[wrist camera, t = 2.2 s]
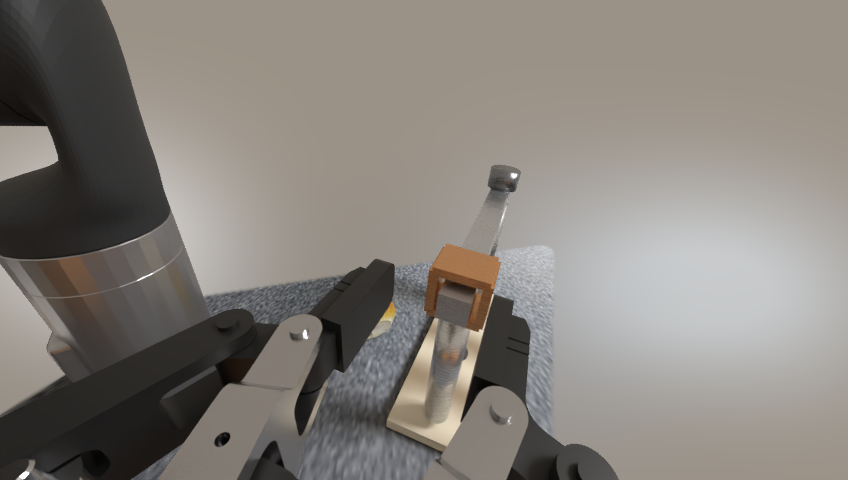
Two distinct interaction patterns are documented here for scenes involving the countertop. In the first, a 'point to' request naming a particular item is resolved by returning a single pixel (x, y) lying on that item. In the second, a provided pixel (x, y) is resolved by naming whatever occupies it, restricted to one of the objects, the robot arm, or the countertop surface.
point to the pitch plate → (412, 395)
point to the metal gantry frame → (479, 245)
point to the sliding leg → (449, 336)
